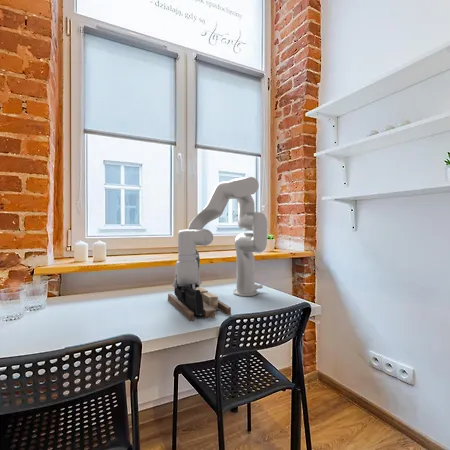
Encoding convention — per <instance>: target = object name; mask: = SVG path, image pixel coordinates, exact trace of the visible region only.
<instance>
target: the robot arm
mask: <svg viewBox="0 0 450 450" xmlns="http://www.w3.org/2000/svg"><path fill="white" fill-rule="evenodd" d="M259 185H260V184H259V181H258V179H257V178H256V177H253V176H247V177H238V178H234V179H231V180H229V181H221V182H219V183H217V185H216V186H215V187H214V190H213V191H212V193H211V196H210V198H209V199H208V201H207V204H206V205H205V206H204V207H203V209H201V210H200V211H199V212H198V213H197V214H196V215H195V216H194V217H193V218H192V220H191V221H190V223H189V224H188V227H187V228H186V229H182V230H181V229H180V230H179V231H178V234H177V235H178V237H177V242H178V243H177V244H178V245H177V246H178V247H177V251H178V252H177V254H178V256H177V257H178V260H177V261H176V262H175V268H174V281H173V282H172V287H174V289H175V288H178V289H179V290H180V298H181V299H182V300H183V301H185V292H184V285H188V284H190V286H191V288H192V289H194V290H195V289H196V288H197V287H198V285H201V284H203V282H202V280H201V278H200V268H199V269H198V263H197V261H196V258H200V254H199V255H196V250H197V248H196V247H197V246H203V247H207V246H209V245H210V244H212V242H213V240H214V235H213V232H212V231H210V230H209V229H206V228H204V227H205V226H206V225H207V224H209V223H211V222H212V221H214V220H216V219H219V218H220V217H222V215H223V213H224V211H225V208H226V207H227V205H228V203H229V200H233V199H234V200H236V201H237V209H238V210H237V225H238V228H239V229H241V230H243V231H248V232H241V233H239V234H237V235H236V237H235V238H234V249H235V254H236V286H235V287H236V288H235V289H234V290H233V294H234V295H236V296H240V297H252V296H256V295H258V293H259V292H258V291H257V290H259V289H263V288H264V287H263V285H262V284H259V285H258V284H255V282H256V281H255V280H256V278H255V277H256V276H255V274H256V272H255V271H256V269H255V268H256V267H255V266H256V259H255V255H254V253H256V254H260V253H263V252H265V250H266V248H267V244H268V219H267V217H266V215H265V214H264V213H263V212H260V211H255V209H256V207H255V201H254V198H253V196H252V195H254V194H256V193H257V192H258V190H259V188H260V186H259ZM249 231H252V233H251V232H249ZM177 284H178V285H180V286H178V285H177Z"/></svg>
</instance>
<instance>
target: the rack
mask: <svg viewBox="0 0 450 450" xmlns="http://www.w3.org/2000/svg"><path fill="white" fill-rule="evenodd" d="M167 300H168V302H169V303H170V304H172V306H174V307H175V308H176V309H177V310H178V311H179V312H180V313H181V314H182V315H183V316H184V317H185V318H186V319H187V320H188V321H189V322H193V321H195V314H194V313H193V312H192V311H191V310H190V309H189V308H188V307H186V306H185V305H184V304H183V303H182V302H180V301H179V300H178V299H177V297H176V295H173V294H172V293H168V294H167ZM203 307H204V314H202V315H201V316H202V317H203V318H204V319H213V318H216V310H215V309H213V308H212V307H210V306H209V305H208V304H206V303H205V302H203ZM218 310H219V311H221V312H222V313H224V314H225V316H231V314H232V307H231V306H229V305H227V304H226V303H225V302H223V301H221V300H219V299H218Z"/></svg>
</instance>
